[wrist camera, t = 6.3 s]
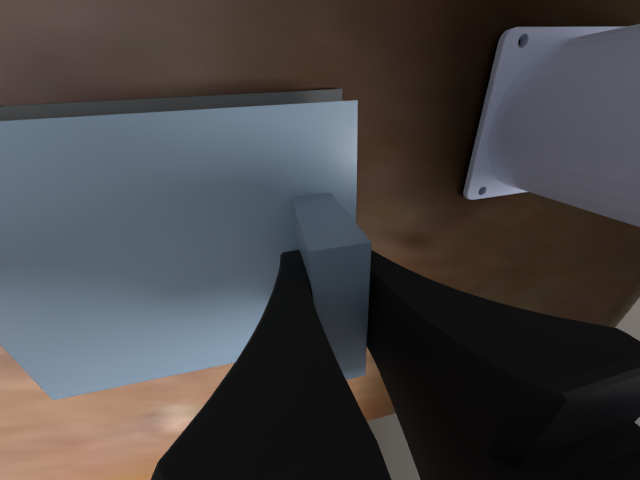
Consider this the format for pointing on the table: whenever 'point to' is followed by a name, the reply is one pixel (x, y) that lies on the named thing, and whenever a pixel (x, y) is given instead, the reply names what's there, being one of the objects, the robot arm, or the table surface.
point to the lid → (174, 238)
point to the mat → (164, 104)
